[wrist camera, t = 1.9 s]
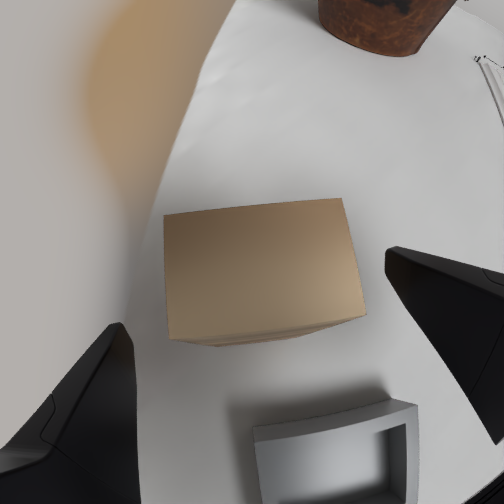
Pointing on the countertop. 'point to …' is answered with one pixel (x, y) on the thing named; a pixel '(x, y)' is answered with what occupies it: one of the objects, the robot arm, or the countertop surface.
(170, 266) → the slat
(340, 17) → the brown tapered cylinder
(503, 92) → the baseboard
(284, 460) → the end cap
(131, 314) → the countertop surface
